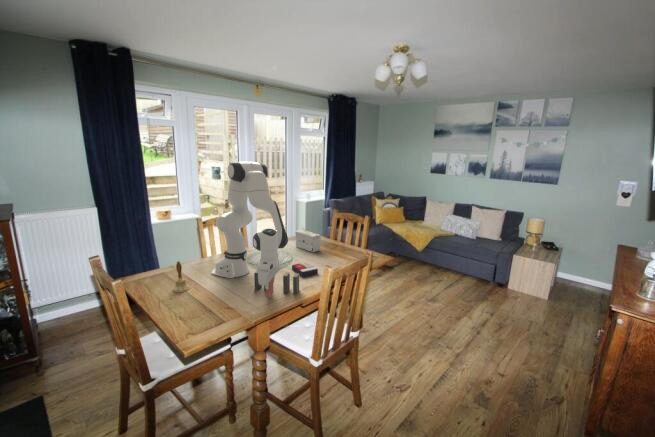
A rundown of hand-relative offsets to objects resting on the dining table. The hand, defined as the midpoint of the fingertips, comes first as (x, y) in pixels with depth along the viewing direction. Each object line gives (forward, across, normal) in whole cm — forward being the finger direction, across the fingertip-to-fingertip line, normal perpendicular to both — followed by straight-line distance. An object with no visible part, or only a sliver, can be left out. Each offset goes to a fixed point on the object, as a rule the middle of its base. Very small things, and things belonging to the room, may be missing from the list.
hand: (269, 285), depth 160 cm
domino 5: (+7, -9, +12) cm, 16 cm away
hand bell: (+8, +2, -50) cm, 51 cm away
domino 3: (+5, 0, 0) cm, 5 cm away
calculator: (+7, -38, +8) cm, 39 cm away
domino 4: (+7, -9, +6) cm, 13 cm away
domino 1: (+7, -9, -10) cm, 15 cm away
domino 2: (+7, -9, -5) cm, 12 cm away
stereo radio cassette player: (+7, -80, -1) cm, 80 cm away
